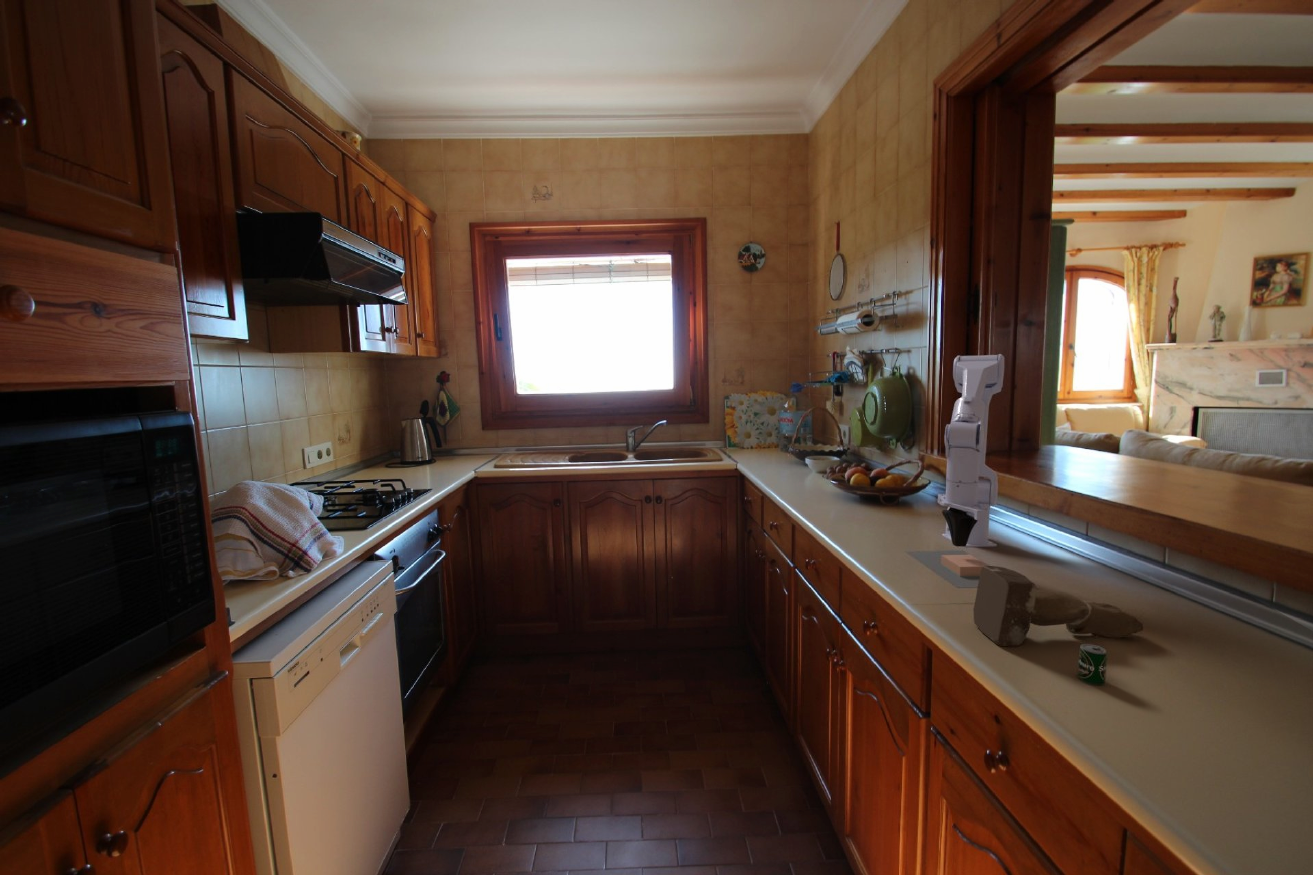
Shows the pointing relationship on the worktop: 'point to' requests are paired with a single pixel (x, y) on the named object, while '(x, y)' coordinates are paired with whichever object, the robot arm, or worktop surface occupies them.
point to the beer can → (1092, 664)
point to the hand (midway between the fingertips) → (959, 545)
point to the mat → (934, 563)
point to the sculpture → (1040, 610)
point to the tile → (963, 565)
